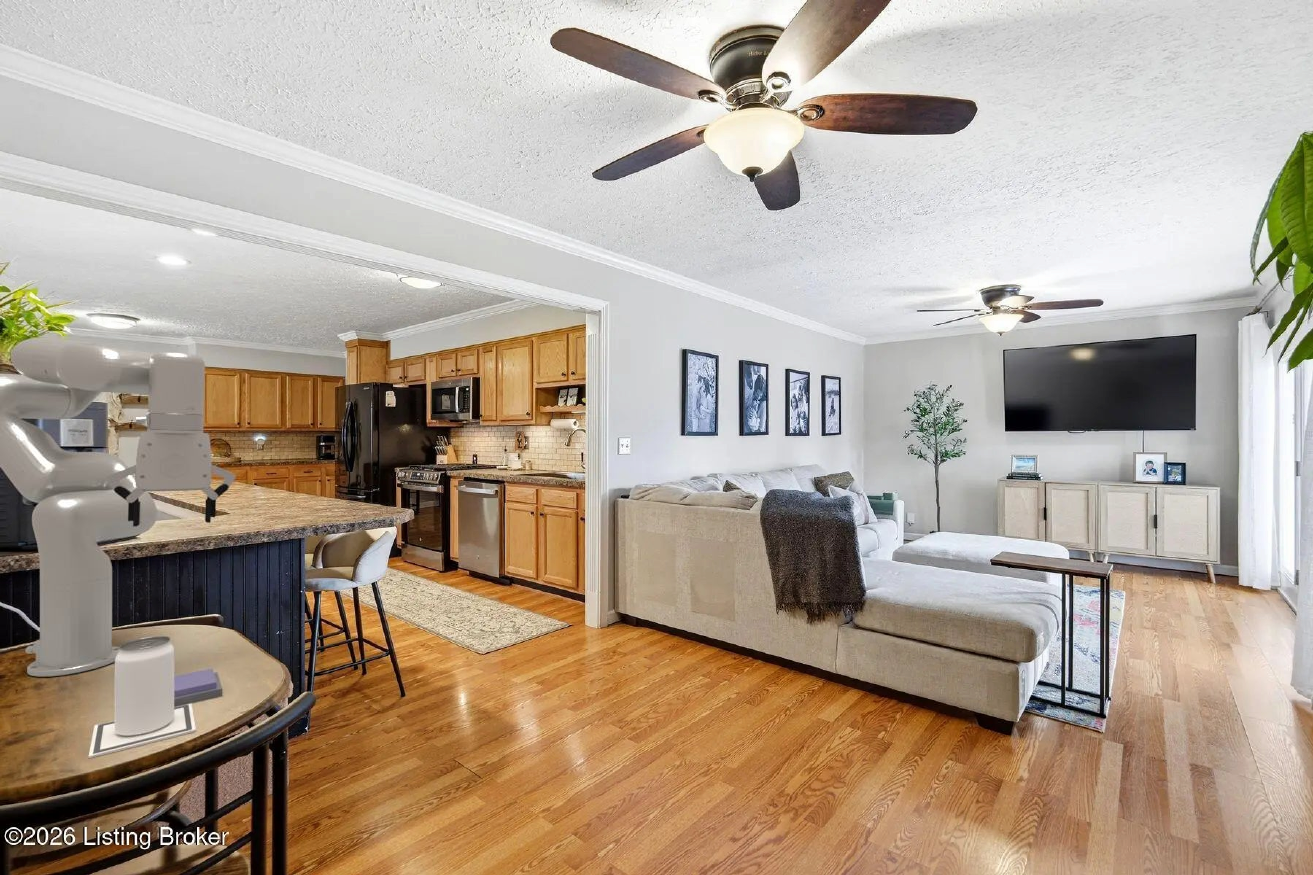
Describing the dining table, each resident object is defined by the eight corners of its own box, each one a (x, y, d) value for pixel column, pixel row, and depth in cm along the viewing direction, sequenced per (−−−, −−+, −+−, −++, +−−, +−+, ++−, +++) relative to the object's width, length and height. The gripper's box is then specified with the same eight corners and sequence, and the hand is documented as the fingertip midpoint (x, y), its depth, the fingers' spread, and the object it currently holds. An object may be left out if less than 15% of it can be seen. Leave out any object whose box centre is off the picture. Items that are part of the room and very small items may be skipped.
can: (105, 741, 81) (106, 653, 81) (125, 720, 87) (126, 638, 87) (165, 732, 84) (165, 646, 84) (180, 712, 90) (180, 632, 90)
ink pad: (148, 712, 90) (148, 697, 90) (148, 693, 97) (148, 679, 97) (222, 695, 96) (222, 682, 96) (217, 678, 103) (217, 666, 103)
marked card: (88, 758, 77) (88, 755, 77) (94, 727, 86) (94, 724, 86) (195, 731, 85) (195, 728, 85) (191, 705, 93) (191, 702, 93)
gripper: (106, 422, 95) (102, 530, 95) (238, 426, 106) (235, 523, 106) (110, 422, 101) (107, 523, 101) (235, 426, 112) (232, 517, 112)
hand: (173, 523), depth 103 cm, fingers open, 9 cm apart
